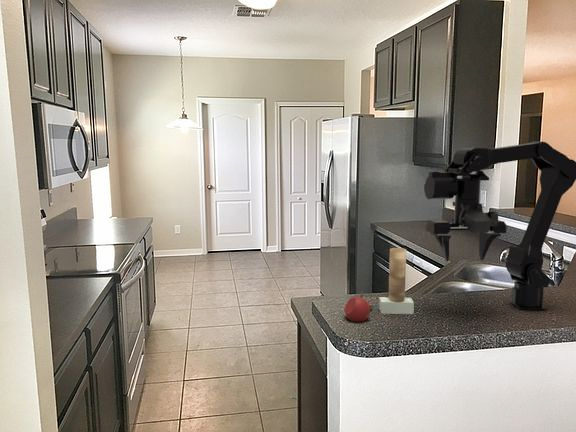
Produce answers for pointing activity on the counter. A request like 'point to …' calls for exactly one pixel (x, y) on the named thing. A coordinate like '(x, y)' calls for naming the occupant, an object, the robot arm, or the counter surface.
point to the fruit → (357, 309)
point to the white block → (396, 306)
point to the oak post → (397, 274)
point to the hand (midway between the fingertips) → (464, 260)
